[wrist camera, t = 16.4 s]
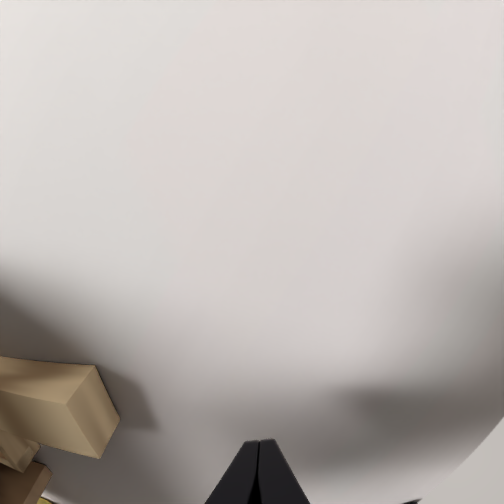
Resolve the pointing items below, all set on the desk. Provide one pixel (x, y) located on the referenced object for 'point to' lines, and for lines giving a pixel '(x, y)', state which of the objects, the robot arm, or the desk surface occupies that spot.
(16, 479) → the wooden open box
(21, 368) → the wooden tray with handle
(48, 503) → the vase
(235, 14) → the desk surface
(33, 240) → the desk surface
